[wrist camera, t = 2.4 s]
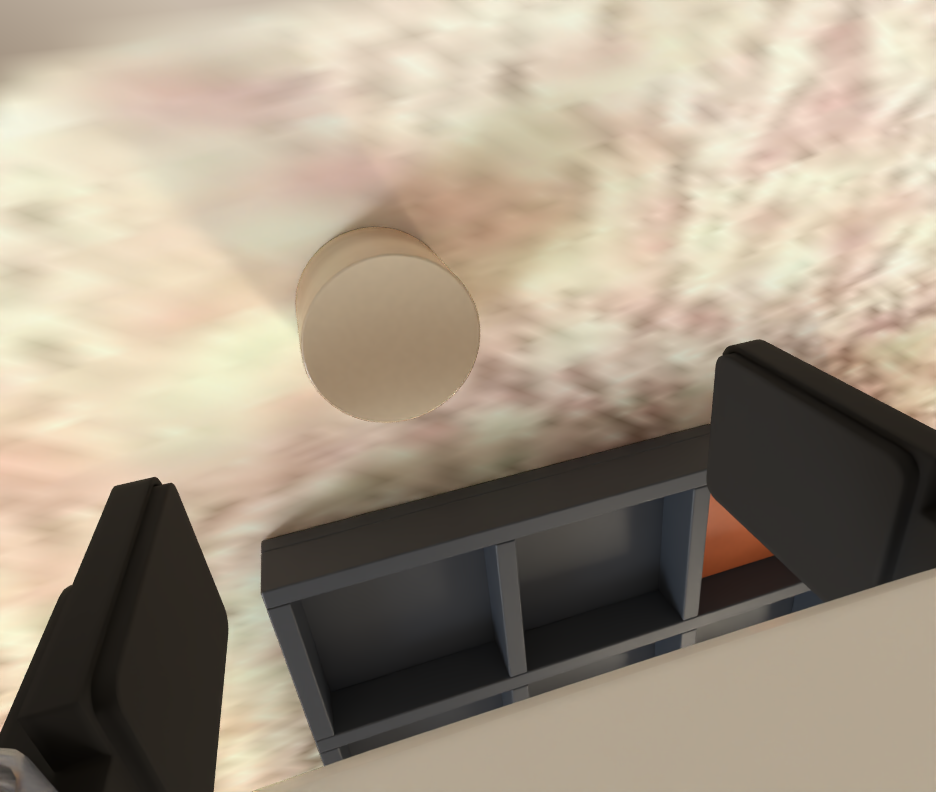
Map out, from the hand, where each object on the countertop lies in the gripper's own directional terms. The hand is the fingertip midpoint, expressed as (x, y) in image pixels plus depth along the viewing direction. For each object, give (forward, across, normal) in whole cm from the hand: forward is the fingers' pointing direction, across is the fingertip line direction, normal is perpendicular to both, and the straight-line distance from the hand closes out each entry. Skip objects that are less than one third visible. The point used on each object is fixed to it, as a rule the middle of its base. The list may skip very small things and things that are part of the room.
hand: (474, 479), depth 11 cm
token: (+9, 0, 0) cm, 9 cm away
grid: (+9, -6, +18) cm, 20 cm away
